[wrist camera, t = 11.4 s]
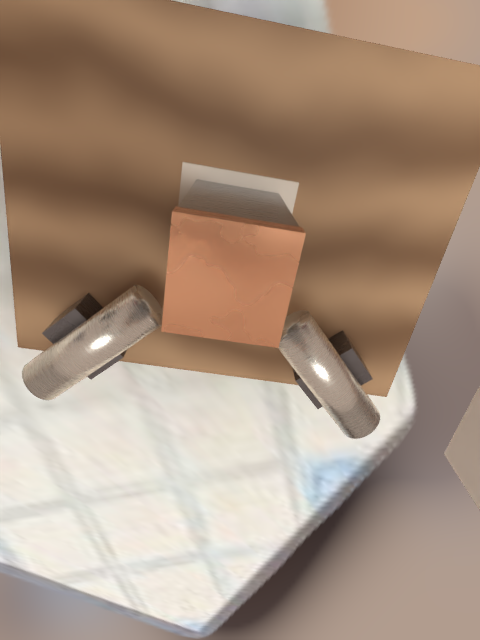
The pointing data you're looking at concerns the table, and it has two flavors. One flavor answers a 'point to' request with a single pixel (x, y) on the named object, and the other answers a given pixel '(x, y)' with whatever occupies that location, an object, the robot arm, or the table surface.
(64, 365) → the shaft
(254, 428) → the table surface
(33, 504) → the table surface
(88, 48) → the cradle board
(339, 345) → the shaft
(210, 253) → the block
